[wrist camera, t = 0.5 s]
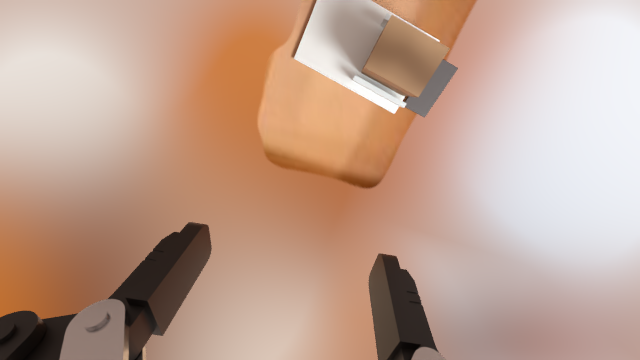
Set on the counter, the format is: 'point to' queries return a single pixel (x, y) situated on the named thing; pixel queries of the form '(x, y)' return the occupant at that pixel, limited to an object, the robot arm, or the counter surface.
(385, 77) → the walnut block
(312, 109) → the counter surface
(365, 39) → the white tray
